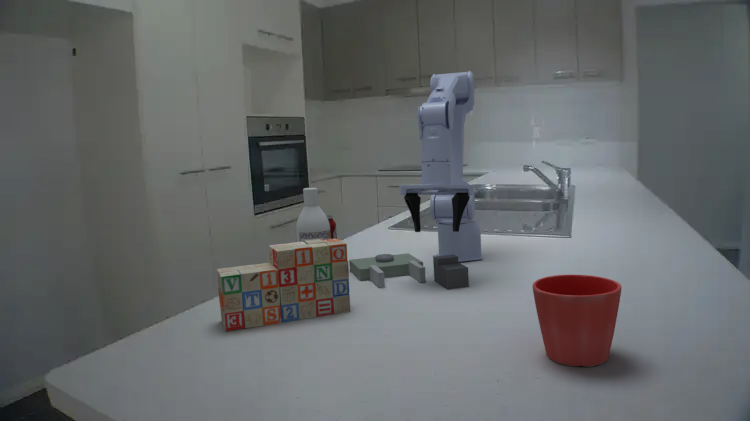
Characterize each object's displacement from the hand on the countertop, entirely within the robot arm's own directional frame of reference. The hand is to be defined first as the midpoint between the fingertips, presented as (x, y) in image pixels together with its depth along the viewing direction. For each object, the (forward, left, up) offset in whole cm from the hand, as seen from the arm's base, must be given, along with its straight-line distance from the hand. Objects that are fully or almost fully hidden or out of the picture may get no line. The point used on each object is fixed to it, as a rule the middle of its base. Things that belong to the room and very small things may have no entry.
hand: (436, 231), depth 111 cm
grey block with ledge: (-2, +1, -11) cm, 11 cm away
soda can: (+19, -24, -11) cm, 32 cm away
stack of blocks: (+31, +8, -11) cm, 34 cm away
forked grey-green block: (+7, -11, -10) cm, 16 cm away
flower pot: (-3, +41, -11) cm, 42 cm away
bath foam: (+23, -10, -11) cm, 27 cm away
